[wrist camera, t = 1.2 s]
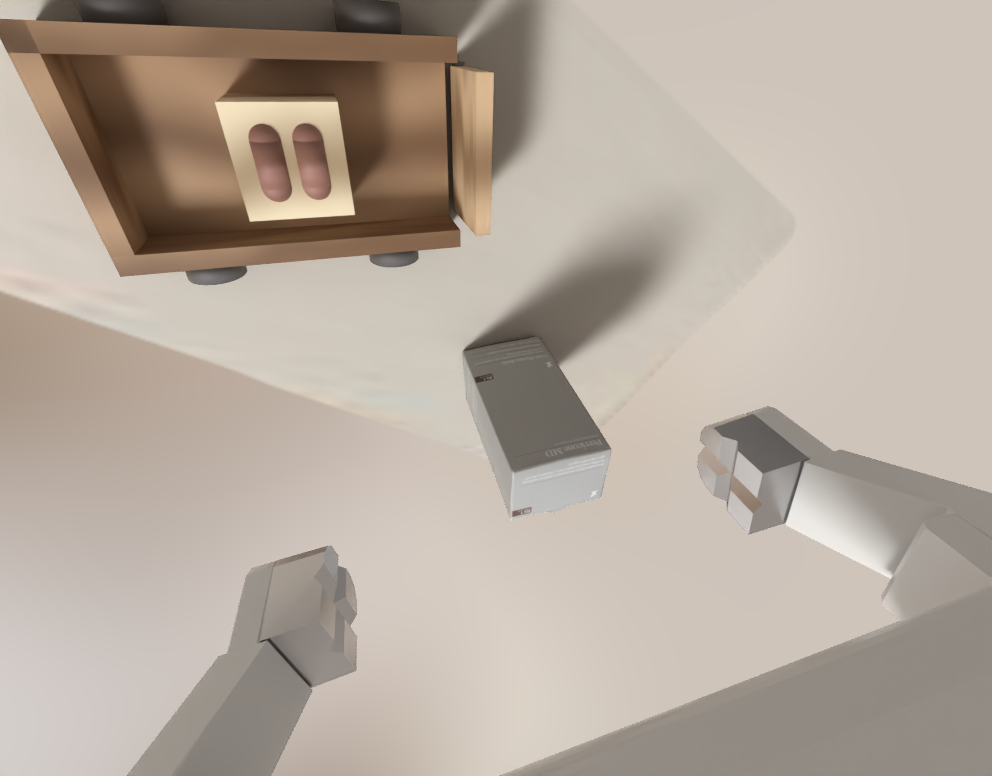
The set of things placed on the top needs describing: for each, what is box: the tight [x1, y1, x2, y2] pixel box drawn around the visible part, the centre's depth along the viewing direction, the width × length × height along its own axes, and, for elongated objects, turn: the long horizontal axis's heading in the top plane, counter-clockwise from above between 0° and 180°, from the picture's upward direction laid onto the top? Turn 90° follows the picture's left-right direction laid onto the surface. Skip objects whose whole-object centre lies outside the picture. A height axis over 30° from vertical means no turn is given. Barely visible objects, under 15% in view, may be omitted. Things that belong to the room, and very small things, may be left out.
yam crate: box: [215, 93, 355, 222], centre depth 27 cm, size 6×6×5 cm
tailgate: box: [450, 62, 494, 236], centre depth 30 cm, size 9×1×6 cm, turn 178°
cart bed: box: [0, 0, 460, 285], centre depth 28 cm, size 15×21×4 cm
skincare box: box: [463, 336, 611, 520], centre depth 41 cm, size 8×7×16 cm
